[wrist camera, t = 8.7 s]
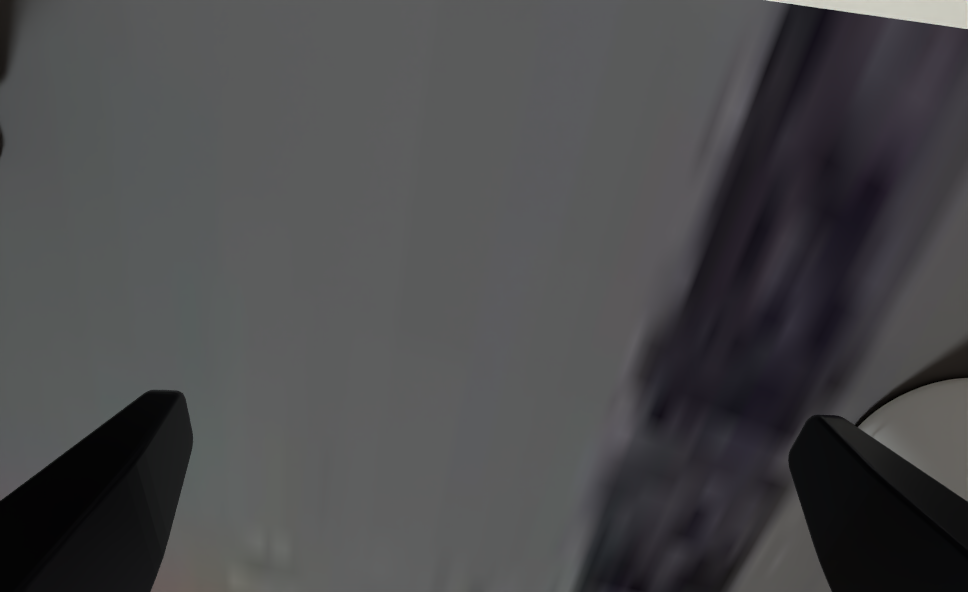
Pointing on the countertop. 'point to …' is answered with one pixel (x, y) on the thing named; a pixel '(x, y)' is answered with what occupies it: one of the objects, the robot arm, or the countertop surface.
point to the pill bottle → (928, 431)
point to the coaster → (900, 9)
